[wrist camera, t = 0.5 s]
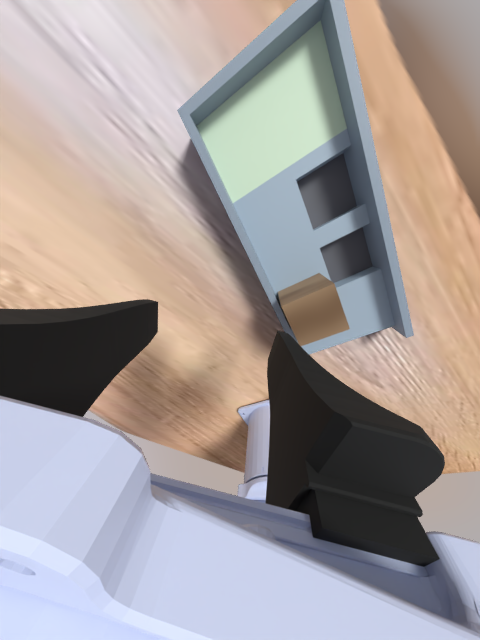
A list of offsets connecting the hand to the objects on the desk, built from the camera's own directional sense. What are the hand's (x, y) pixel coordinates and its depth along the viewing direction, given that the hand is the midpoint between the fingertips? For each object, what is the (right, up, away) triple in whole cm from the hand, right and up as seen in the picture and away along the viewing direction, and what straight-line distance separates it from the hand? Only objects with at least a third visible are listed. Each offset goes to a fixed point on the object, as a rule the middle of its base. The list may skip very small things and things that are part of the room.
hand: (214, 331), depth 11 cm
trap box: (+8, +8, +6) cm, 13 cm away
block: (+8, +3, +7) cm, 11 cm away
